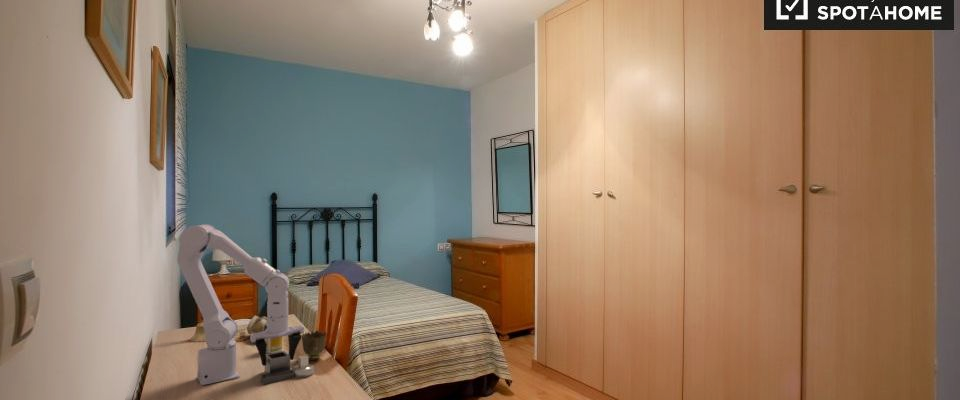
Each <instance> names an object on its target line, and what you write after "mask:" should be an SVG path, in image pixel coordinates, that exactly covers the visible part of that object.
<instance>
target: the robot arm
mask: <svg viewBox="0 0 960 400" xmlns="http://www.w3.org/2000/svg"><path fill="white" fill-rule="evenodd" d="M178 241H179V247H178V251H177V252H178V253H177V259H176V260H177V264H178V266H179V268H180V271H181V272H182V275H183V277H184V279H185V282H186V284H187V286H188V288H189V290H190V293H191V294H192V297H193V299H194V301H195V303H196V305H197V307H198V309H199V311H200V314H202V316H203V318H204V322H203V328H204V330H205V341H204V342H205V344H206V347H204V348H201V349H198V352H197V372H196V373H197V380H198V381H199V383H200V385H201V386H205V385H209V384H214V383H219V382H222V381H228V380H233V379H238V378H240V376H241V375H240V374H239V372H238V371H237V341H236V340H235V336H236V335H237V334H238V331H239V327H238V323H236V321H235V320H233V319H232V318H231V317H230V315H229V313H228V311H226V310H225V309H224V308H223V307H222V304H221V302H220V300H219V298H218V296H217V293H216V292H215V289H214V287H213V284H212V282H211V280H210V279H209V275H208V273H207V271H206V269H205V267H204V265H203V262H202V261H201V259H202V257H203V256H204V254H205V253H206V251H207V250H208V249H209V250H218V251H221V252H222V253H224V254H225V255H227V256H228V257H229V258H231V259H232V260H234V261H235V262H237V263H238V264H240V265H242V266H243V269H244V273H245V275H246V276H248V277H250V278H251V279H252V280H254V281H255V282H256V283H258V285H260V286H261V287H265V292H266V294H267V302H266V305H267V306H266V307H267V308H266V313H267V316H266V318H267V330H266V331H262V332H259V333H255V334H250V335H249V336H250V337H249V338H250V339H249V341H250V342H251V343H254V346H255V347H256V349H257V351H258V354H259V357H260V358H259V359H260V361H261V365H262V366H263V367H265V365H266V354H267V353H266V347H267V344H266V343H265V339H271V338H277V337H282V338H283V337H288V354H289V355H290V361H293V360H294V359H295V354H296V350H297V347H298V345H299V344H300V342H301V340H302V335H303V334H305V327H304V326H303V325H297V326H289V292H288V289H289V287H290V279H289V277H288V276H287V274H285V273H283V272H281V271H280V270H279V269H276V268H274V267H273V266H271V265H270V264H269V263H267V262H268V260H267V259H266V258H261V257H259V256H257V257H252V256H251V255H250V253H249V254H248V252H246V251H245V250H244V249H243V248H241V246H239V245H238V244H237V243H235V241H233V240H232V239H231V238H229V236H227V234H224V232H222V231H220V230H219V229H216V227H214V226H213V225H212V224H207V223H203V224H199V225H191V226H188V227H187V228H186V229H185V230H184V231H183V232H182V234H181V235H180V236H179V239H178Z"/></svg>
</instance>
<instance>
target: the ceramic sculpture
mask: <svg viewBox="0 0 960 400" xmlns="http://www.w3.org/2000/svg"><path fill="white" fill-rule="evenodd" d="M266 329H267V316H265V315H259V316H258V315H253V317H252V318H251V319H250V321H249V322H248V325H247V326H246V331H247V333H248V335H249V334H255V333H259V332H262V331H265V330H266Z"/></svg>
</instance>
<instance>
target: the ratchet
mask: <svg viewBox="0 0 960 400" xmlns="http://www.w3.org/2000/svg"><path fill="white" fill-rule="evenodd" d="M297 357H298V358H297V364H296V365H294V366H292V367H291V369H290V370H287V371H283V372H278V373H274V374H270V373H268V374H266V373H264V374H260V383H261V384H262V386H264V385H270V384H273V383H276V382H281V381H285V380H291V379H294V378H295V379H303V377H305V378H309V377H311V376H313V375H314V374H315V365H314V364H313V363H309V359H308V355H307V354H305V355H299V356H297ZM312 374H313V375H312ZM308 376H309V377H308Z"/></svg>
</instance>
